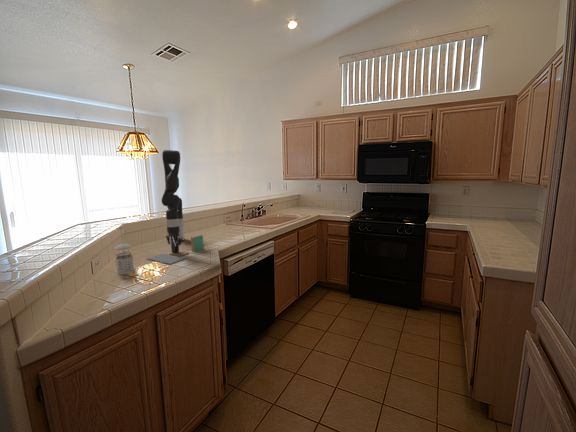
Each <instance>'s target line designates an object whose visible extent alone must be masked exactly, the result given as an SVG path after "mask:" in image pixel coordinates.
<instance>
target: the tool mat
mask: <svg viewBox="0 0 576 432" xmlns="http://www.w3.org/2000/svg"><path fill="white" fill-rule="evenodd" d="M146 260H148V261H153V262H158V263H161V264H165V265H173V264H176V263H179V262H181V261H185V260H186V258H185V257H182V256H181V257H179V256H174V255H170V254H165V253H159V254H157V255H153V256H149V257H147V258H146Z"/></svg>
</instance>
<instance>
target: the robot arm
mask: <svg viewBox="0 0 576 432" xmlns="http://www.w3.org/2000/svg"><path fill="white" fill-rule="evenodd" d="M161 155H162V157H161V158H162V163H163V171H164V183H165V187H164V192H163V193H162V194H163V195H162V198H161V204H162V206H165V207H167V209H168V210H166V211H165V217H166V223H165V224H166V231H167V234H168V235H166V236H165V238H166V240H167V244H168V245H170V248H171V249H170V250H171V251H172V247H171V244H172V243H174V244H175V252H178V251H180V246H182V245H181V244H182V242H183V241H185V227H184V215H183V200H182V198H181V197H180V196H179V195H178V194H175V193H177V192H178V189H179V187H180V178H179V173H180V172H179V171H180V164H181V152H180V151H179V150H172V149H171V150H170V149H169V150H168V149H164V150H163V151H162V154H161ZM171 165H174V167H173V168H171ZM176 243H177V244H176Z"/></svg>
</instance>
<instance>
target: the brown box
mask: <svg viewBox="0 0 576 432" xmlns="http://www.w3.org/2000/svg"><path fill="white" fill-rule="evenodd" d="M176 244H177V243H176ZM171 247H172V250H171V252H169V254H168V255H171V256H176V257H181V258H182V257H183V256H186V255H189V254H190V252H187V251H183V250H179V251H178V252H175V244H174V243H172V244H171V245H170V248H171Z"/></svg>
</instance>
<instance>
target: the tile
mask: <svg viewBox="0 0 576 432" xmlns="http://www.w3.org/2000/svg"><path fill="white" fill-rule="evenodd" d="M190 241H191V252H192V253H197V252H199V251H202V250H204V235H203V234H197V235H195V236H194V235H193V236H191V237H190Z"/></svg>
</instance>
